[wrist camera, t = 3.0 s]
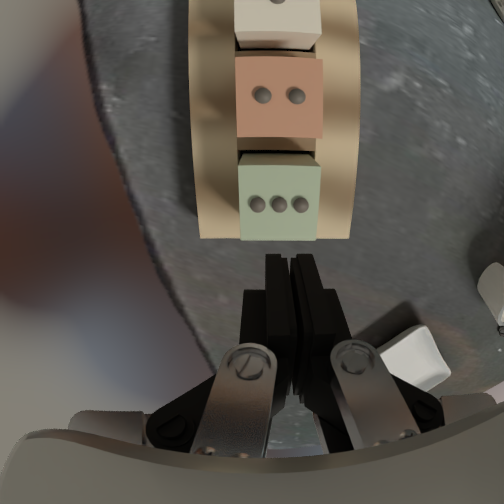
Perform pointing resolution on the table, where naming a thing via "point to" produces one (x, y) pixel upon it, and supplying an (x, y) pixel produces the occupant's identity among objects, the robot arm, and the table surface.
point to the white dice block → (277, 23)
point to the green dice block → (278, 196)
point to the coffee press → (500, 330)
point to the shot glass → (493, 290)
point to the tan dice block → (279, 97)
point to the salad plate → (415, 358)
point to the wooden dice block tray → (229, 145)
